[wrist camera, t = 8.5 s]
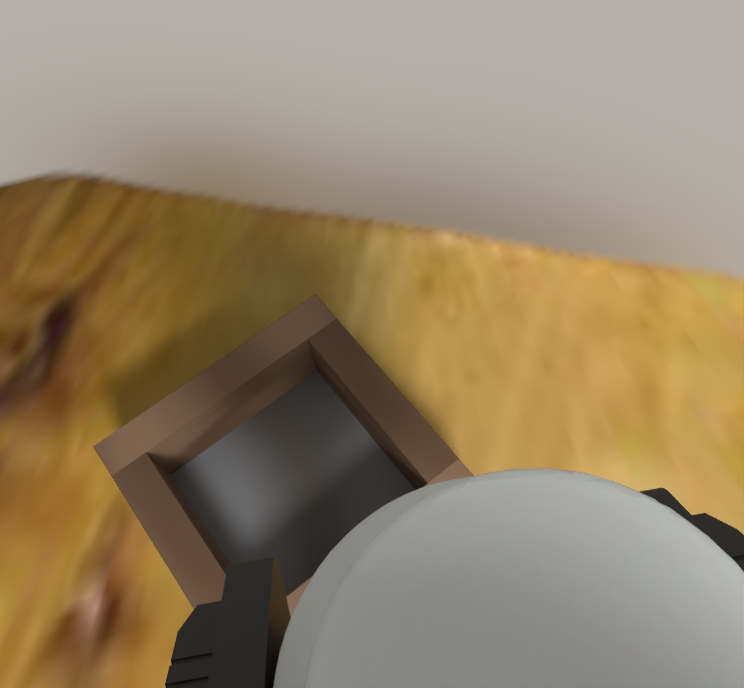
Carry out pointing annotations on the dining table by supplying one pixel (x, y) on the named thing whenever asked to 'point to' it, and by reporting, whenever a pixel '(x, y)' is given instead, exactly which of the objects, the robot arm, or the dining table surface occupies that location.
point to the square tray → (273, 455)
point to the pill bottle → (520, 593)
